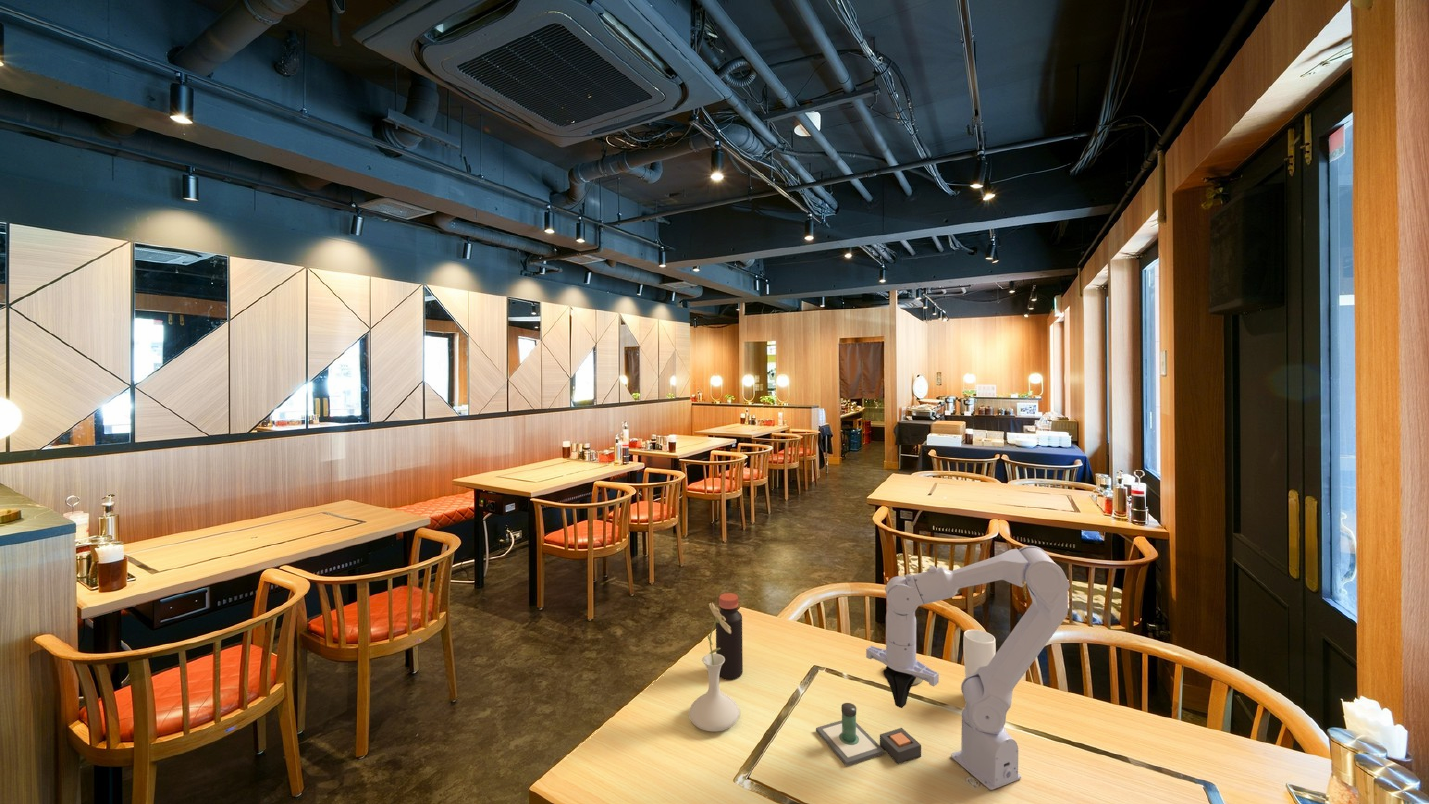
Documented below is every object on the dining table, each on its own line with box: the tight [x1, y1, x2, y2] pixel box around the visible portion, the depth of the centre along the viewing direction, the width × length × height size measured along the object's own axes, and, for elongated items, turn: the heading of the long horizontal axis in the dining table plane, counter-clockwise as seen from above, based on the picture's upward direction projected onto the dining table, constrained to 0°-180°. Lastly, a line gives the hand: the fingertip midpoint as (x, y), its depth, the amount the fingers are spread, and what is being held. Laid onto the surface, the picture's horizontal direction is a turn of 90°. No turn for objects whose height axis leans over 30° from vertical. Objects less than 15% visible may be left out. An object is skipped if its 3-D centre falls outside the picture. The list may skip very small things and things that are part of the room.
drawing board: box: [815, 719, 885, 767], centre depth 108 cm, size 11×9×1 cm
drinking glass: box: [962, 629, 997, 678], centre depth 122 cm, size 7×7×15 cm
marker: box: [841, 702, 857, 742], centre depth 108 cm, size 3×3×6 cm
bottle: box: [715, 592, 744, 681], centre depth 134 cm, size 7×7×20 cm
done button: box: [890, 732, 911, 748], centre depth 106 cm, size 3×3×2 cm
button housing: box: [879, 727, 922, 765], centre depth 106 cm, size 6×6×2 cm
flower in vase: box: [688, 602, 741, 732], centre depth 116 cm, size 13×11×25 cm
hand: (900, 704), depth 106 cm, fingers closed
